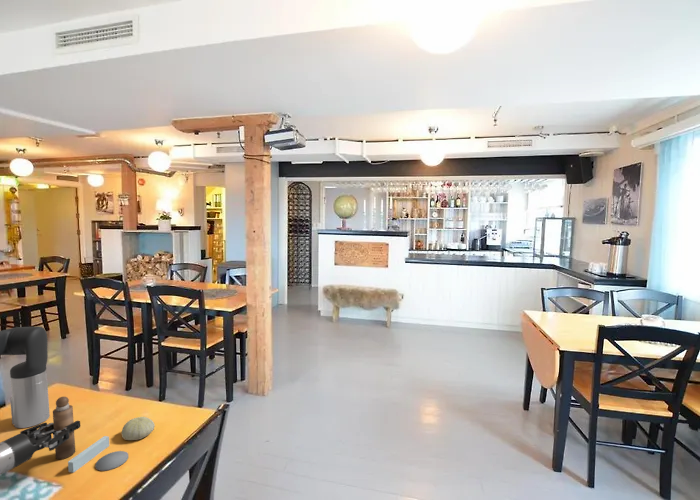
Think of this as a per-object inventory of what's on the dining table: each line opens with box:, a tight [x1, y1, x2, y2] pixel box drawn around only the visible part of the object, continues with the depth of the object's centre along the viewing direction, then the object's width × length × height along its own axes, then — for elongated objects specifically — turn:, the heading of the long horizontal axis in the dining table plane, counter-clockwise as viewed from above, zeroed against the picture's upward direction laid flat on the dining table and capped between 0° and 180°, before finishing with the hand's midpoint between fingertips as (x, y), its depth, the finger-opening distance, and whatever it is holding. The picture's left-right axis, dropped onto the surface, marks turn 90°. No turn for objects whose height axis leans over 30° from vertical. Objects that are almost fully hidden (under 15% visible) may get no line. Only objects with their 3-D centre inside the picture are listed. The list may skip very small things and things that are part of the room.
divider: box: [67, 435, 110, 474], centre depth 106 cm, size 2×12×3 cm, turn 170°
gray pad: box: [95, 450, 129, 472], centre depth 105 cm, size 8×8×1 cm
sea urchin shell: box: [121, 416, 155, 441], centre depth 118 cm, size 9×8×8 cm
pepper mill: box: [52, 396, 76, 460], centre depth 107 cm, size 5×5×18 cm
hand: (73, 422), depth 109 cm, fingers closed on pepper mill, 4 cm apart
